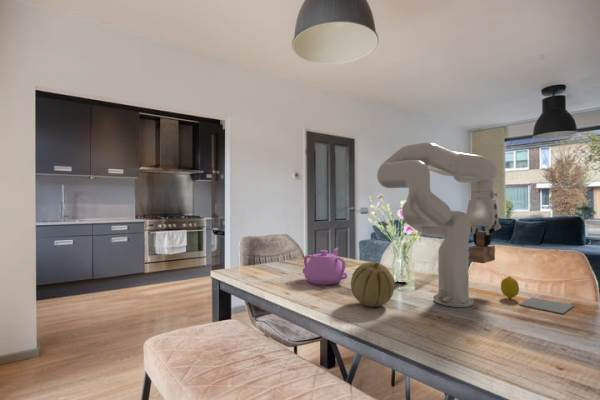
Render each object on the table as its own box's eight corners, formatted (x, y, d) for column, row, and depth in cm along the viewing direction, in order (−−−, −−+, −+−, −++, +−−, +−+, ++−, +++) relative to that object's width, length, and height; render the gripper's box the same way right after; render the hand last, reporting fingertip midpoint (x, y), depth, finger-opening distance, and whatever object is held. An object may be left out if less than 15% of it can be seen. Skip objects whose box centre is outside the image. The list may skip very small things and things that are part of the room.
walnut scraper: (481, 258, 137) (481, 230, 136) (494, 260, 133) (494, 231, 133) (469, 261, 130) (469, 232, 130) (483, 263, 126) (483, 233, 126)
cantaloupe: (366, 296, 128) (366, 256, 128) (403, 305, 118) (402, 261, 118) (341, 305, 118) (341, 261, 118) (378, 316, 107) (378, 267, 107)
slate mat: (563, 314, 107) (562, 313, 107) (519, 305, 116) (519, 304, 116) (573, 306, 115) (573, 305, 115) (532, 298, 124) (531, 297, 124)
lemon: (521, 301, 121) (521, 278, 121) (504, 300, 122) (504, 277, 122) (515, 296, 126) (515, 274, 126) (498, 296, 127) (498, 274, 127)
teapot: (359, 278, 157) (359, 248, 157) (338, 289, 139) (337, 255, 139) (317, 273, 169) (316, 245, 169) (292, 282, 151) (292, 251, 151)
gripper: (509, 196, 127) (509, 246, 127) (464, 196, 140) (465, 242, 140) (501, 196, 123) (501, 248, 123) (455, 196, 135) (455, 243, 135)
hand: (482, 244), depth 131 cm, fingers closed on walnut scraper, 3 cm apart
